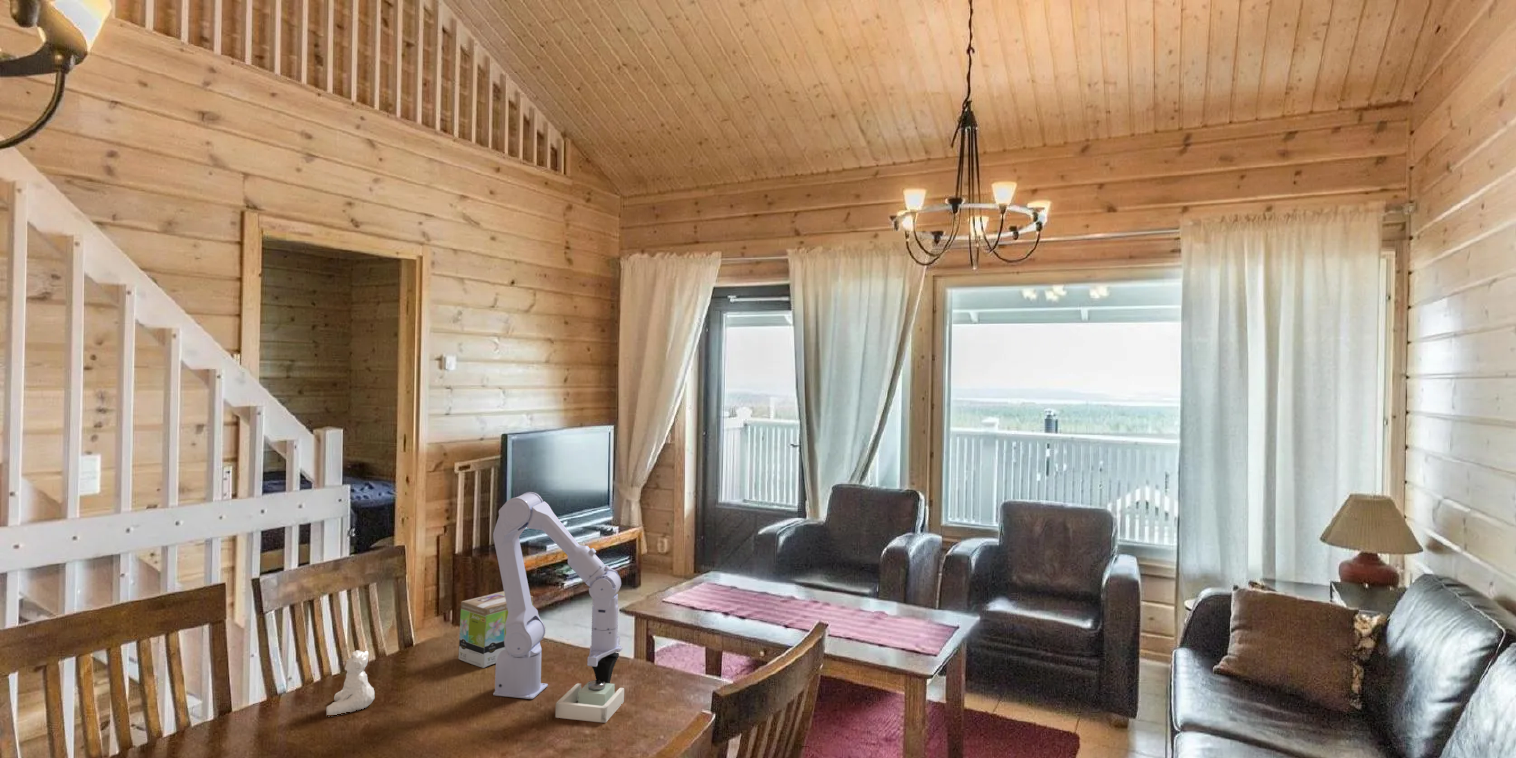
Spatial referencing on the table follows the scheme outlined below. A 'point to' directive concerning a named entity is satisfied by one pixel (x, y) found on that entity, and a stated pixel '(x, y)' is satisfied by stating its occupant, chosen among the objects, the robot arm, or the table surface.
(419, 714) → the table surface
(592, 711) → the housing bay
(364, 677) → the seated beast figurine
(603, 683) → the block
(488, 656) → the tea box
